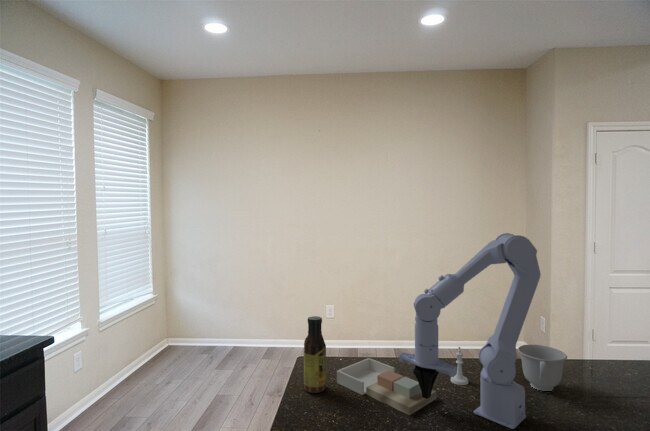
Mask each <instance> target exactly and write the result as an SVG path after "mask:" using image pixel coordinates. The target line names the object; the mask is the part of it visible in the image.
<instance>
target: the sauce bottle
mask: <svg viewBox="0 0 650 431" xmlns="http://www.w3.org/2000/svg"><path fill="white" fill-rule="evenodd" d="M322 323H323V318H322V317H320V316H317V315H316V316H309V317H308V318H307V324H308V326H307V327H308V328H307V336H306V337H305V339H304V344H303V388H304V390H305V391H306V392H308V393H311V394H318V393H322V392H323V391H325V389H326V383H327V345H326V343H325V342H326V341H325V339H324V336H323V334H322Z"/></svg>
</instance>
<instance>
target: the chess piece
mask: <svg viewBox="0 0 650 431" xmlns="http://www.w3.org/2000/svg"><path fill="white" fill-rule="evenodd" d="M457 350H458V352H456V353H455V356H456V359H457V360H456V361H455V363H456V364H457V366H456V367H457V374H456V375H455V376H454V377H451V376H450V382H451V383H453V384H455V385H458V386H466V385H468V384H469V379H468V378H467V377H466V376H464V374H463V370H462V369H463V368H462V365H463V364H464V361H463V357H464V353H462V350H461V347H460V346H458V348H457Z"/></svg>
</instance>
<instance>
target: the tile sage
mask: <svg viewBox="0 0 650 431" xmlns="http://www.w3.org/2000/svg"><path fill="white" fill-rule="evenodd" d="M394 392H396V393H398V394H400V395H402V396H405V397H407V398H409V399H410V398H411V397H413V396H415V395H417V394H418V393H420V392H421V389H420V385H419V383H418V380H414V379H412V378H411V377H407V376H403V378H401V379H399V380H397V381H395V382H394Z"/></svg>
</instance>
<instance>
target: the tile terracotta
mask: <svg viewBox="0 0 650 431" xmlns="http://www.w3.org/2000/svg"><path fill="white" fill-rule="evenodd" d="M403 377H404V375H402V374H399V373H398V372H395V371H394V372H392V371H389V370H388V371H386V372H384V373H382V374H380V375H377V385H380V386H382V387H384V388H386V389H389V390H391V391H393V390H394V382H395V381H397V380H399V379H401V378H403Z"/></svg>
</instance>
